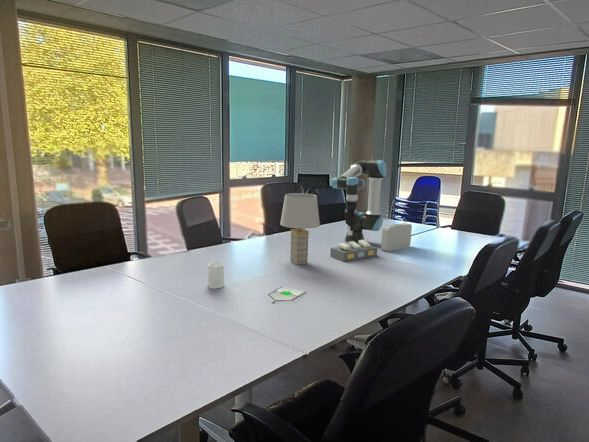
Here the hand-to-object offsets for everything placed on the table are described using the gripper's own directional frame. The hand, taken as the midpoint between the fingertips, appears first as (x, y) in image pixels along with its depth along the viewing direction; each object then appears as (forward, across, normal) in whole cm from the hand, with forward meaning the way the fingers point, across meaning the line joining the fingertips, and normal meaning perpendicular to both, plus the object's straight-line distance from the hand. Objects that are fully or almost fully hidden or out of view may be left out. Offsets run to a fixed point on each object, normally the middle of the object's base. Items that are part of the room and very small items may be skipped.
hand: (350, 235), depth 279 cm
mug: (+14, +11, -100) cm, 102 cm away
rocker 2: (+8, 0, +4) cm, 9 cm away
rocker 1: (+7, 0, -5) cm, 9 cm away
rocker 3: (+8, 0, +13) cm, 15 cm away
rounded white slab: (+17, -2, +47) cm, 50 cm away
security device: (+14, +42, -78) cm, 90 cm away
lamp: (+15, -5, -38) cm, 41 cm away
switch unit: (+16, 0, +4) cm, 16 cm away
